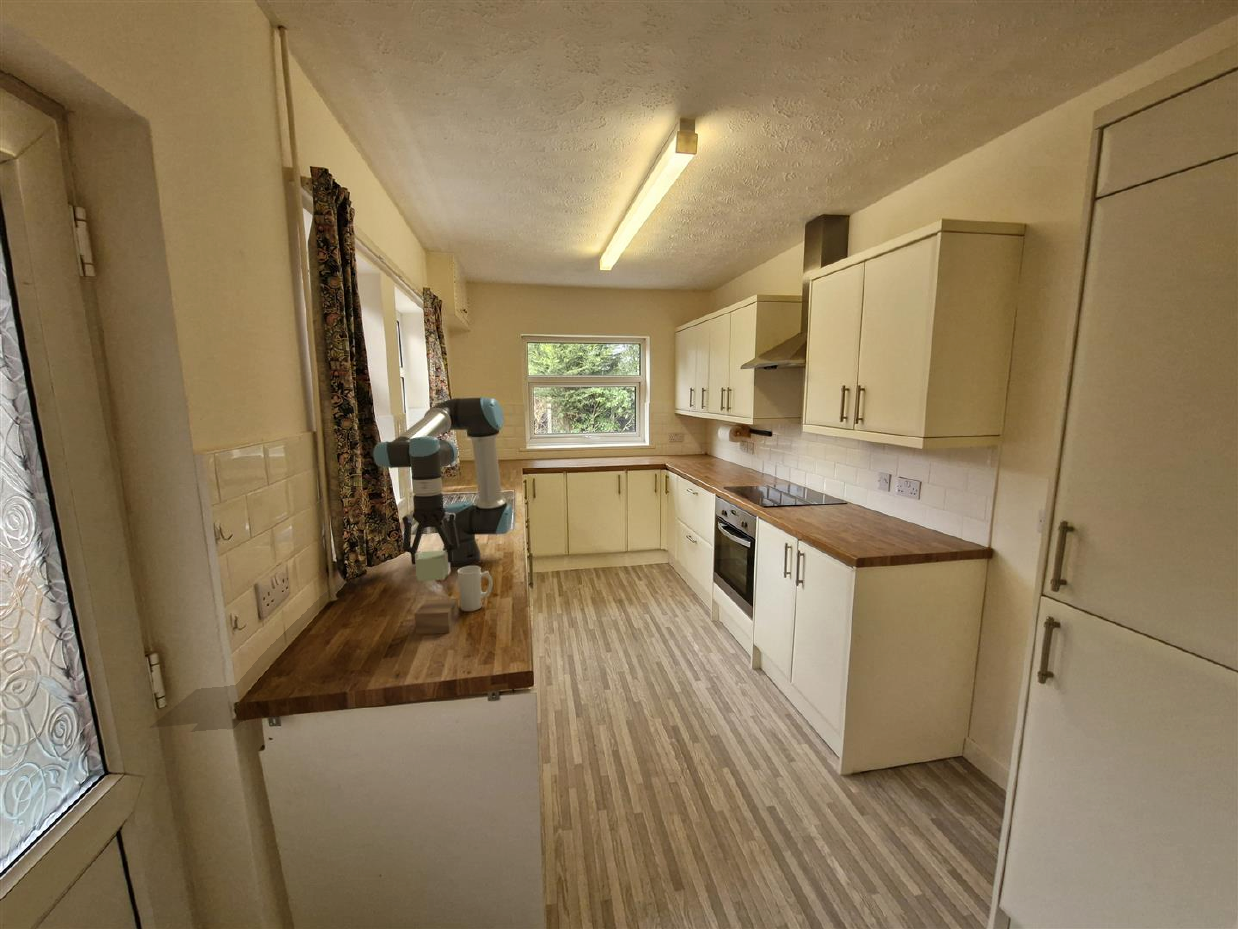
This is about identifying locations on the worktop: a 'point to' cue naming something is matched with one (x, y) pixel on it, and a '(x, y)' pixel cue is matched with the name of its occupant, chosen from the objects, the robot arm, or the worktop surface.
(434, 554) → the sage brick
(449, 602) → the base brick
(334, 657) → the worktop surface
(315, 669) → the worktop surface
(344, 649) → the worktop surface
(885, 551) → the worktop surface
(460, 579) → the mug
